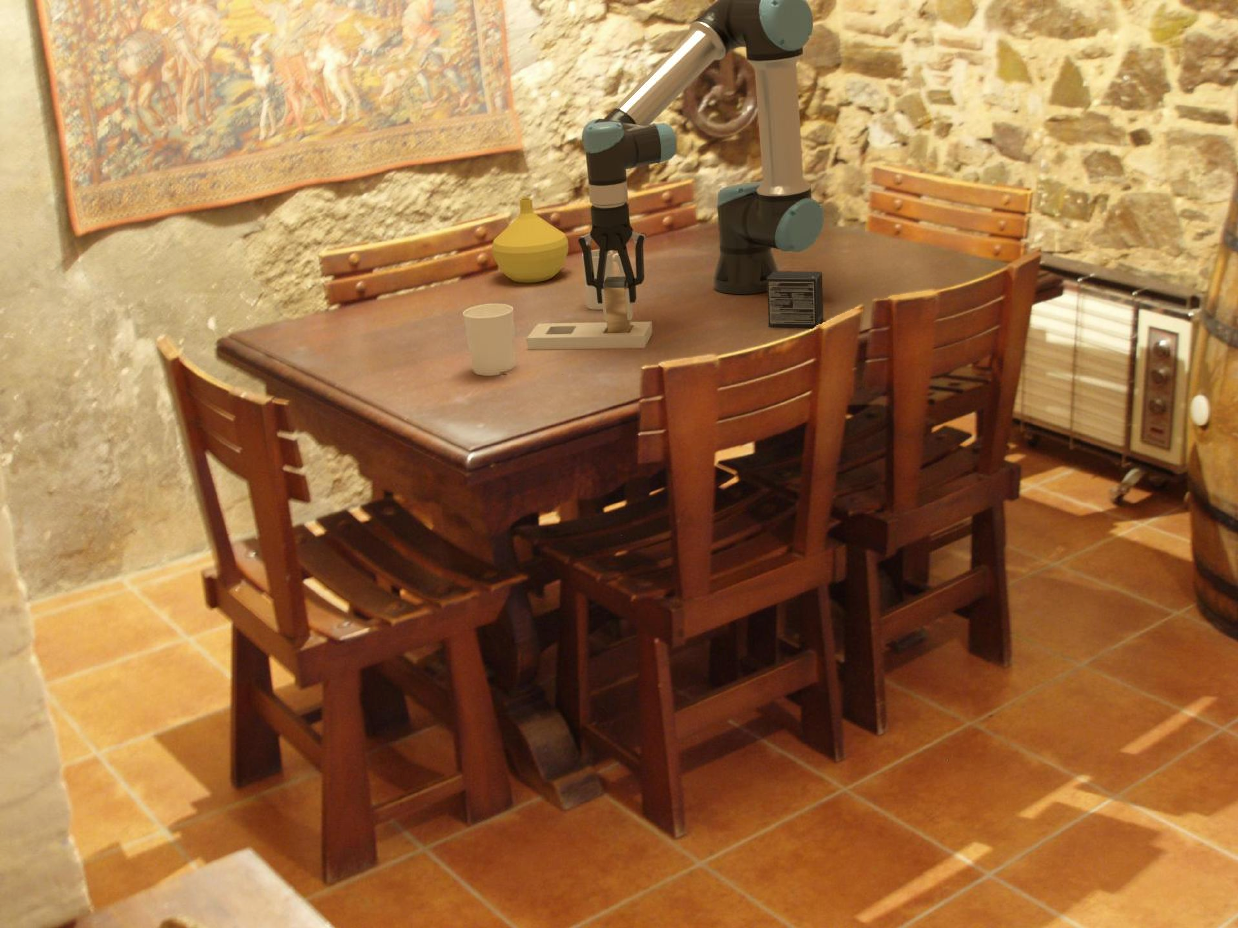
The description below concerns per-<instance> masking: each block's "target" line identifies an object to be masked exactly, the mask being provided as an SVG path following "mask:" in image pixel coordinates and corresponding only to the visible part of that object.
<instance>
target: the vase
mask: <svg viewBox="0 0 1238 928" xmlns="http://www.w3.org/2000/svg"><path fill="white" fill-rule="evenodd" d="M533 206H534V205H533V199H532V197H523V198H520V199H519V208H520V209H519V214H518V216H517V217H516V218H515V219H514V220H513V221H512V222H511V223H510V224H509V225H508V226H507V227H506V228H505V229H504V230H502V232H501V233H499V235H497V237H495V238H494V239H493V242H492V244H491V250H492V256H493V259H494V260H495V263H496V264H497V266H498V268H499V269H500V272H502V273H503V274H504V275H505V276H506V277H507V278H508V279H510V280H511V281H514V282H516V283H523V284H533V283H540V282H545V281H548V280H550V279H552V278H554V277H555V276H556V275H557V274H558V273H560V271H561V269H562V268H563V266H564V265H565V262H566V260H567V255H568V253H569V240H568V238H567V235H566V233H564V231H563V232H562V231H561V230H559V228H556V227H555V226H553V225H552V224H551V223H549V222H547V221H546V220H545V219H543V218H542V217H540V216H539V215H537V213H536V212H535V211H534V207H533Z"/></svg>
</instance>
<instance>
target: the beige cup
mask: <svg viewBox="0 0 1238 928" xmlns="http://www.w3.org/2000/svg"><path fill="white" fill-rule="evenodd" d="M462 317H463V322H464V327H465V332H466V338H467V339H466V340H467V344H468V349H469V355H470V360H471V367H472V371H473V373H474V374H476V375H477V376H484V377H494V376H502V375H503V373H504V372H507V371H510V370H512V369H514V368H515V367H516V350H515V349H516V347H515V327H514V326H515V325H514V323H515V322H514V307H513V306H512V305H509V304H507V303H506V304H505V303H484V304H480V305H479V304H478V305H475V306H471V307H469V308H466V309H465V310H463V312H462Z"/></svg>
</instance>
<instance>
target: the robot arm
mask: <svg viewBox="0 0 1238 928" xmlns="http://www.w3.org/2000/svg"><path fill="white" fill-rule="evenodd" d="M688 30H689V33H688V34H687V35H686V36H685V37H684V38H683V39H682V40H681V41H680V42H679V43H678V44H677V45H676V46H675V47H674V48H673V49H672V50H671V51H670V52H669V53H668V54H667V55H666V56H665V57H664V58H663V59H662V60H661V61H660V62H659V63H658V64H656V66H655V67H654V68H653V69H652V70H651V71H650V72H649V73H648V74H647V75H646V76H645V77H644V78H643V79H642V80H640V82H639V83H638V84H637V85H636V86H635V87H634V88H633V89H632V90H631V91H630V92H629V93H628V94H627V95H626V96H625V97H624V98H623V99H622V100H621V101H620V102H619V103H618V104H617V105H616V107H614V108H613V109H612V110H611V111H610V112H609V113H608V114H607V115H606V116H605V117H604V118H597V119H592V120H590V121H588V122H587V123H586V124H585V125H584V126H583V130H582V132H581V142H582V146H583V148H584V152H585V158H586V159H585V161H586V169H587V172H586V173H587V179H588V180H587V181H588V183H587V184H588V196H589V203H590V204H591V206H590V218H591V230H590V232H589V233H588V234H583V235H581V236H580V237H579V238H578V241H577V242H578V244H579V246H580V248H581V249H582V254H583V259H584V267H585V275H586V283H587V285H588V286H594V287H595V288H596V290H597V301H598V303H599V304H602V303H603V310H602V313H603V321H607V316H606V304H605V292H604V286H603V284H604V283H603V282H604V277H605V269H606V260H607V253H608V251H614V252H615V251H616V252H617V253H618V255H619V257H620V260H621V263H622V267H623V270H624V276H625V277H626V281H627V284H628V285H627V286H626V287H625V300H626V313H627V320H630V321H631V320H632V318H633V317H634V316H633V315H634V312H633V303H634V304H635V302H636V301H637V288H636V287H637V286H639V285H641V284H643V282H644V280H645V262H644V261H645V259H644V258H645V257H644V243H645V240H646V237H647V234H646V233H644V232H641V233H640V232H639V233H638V232H637V231H634V229H633V227H632V226H631V220H630V209H629V208H630V206H629V204H628V202H627V201H628V200H629V193H628V192H629V191H628V180H627V179H628V178H627V170H631V169H634V168H640V167H643V166H644V167H645V166H649V165H656V164H660V163H664V162H666V161H669V160H671V159H673V158H674V156H675V155H676V152H677V148H678V144H677V143H678V142H677V135H676V132H675V131H674V129H673V128H672V126H671V125H670V124H668V123H665V122H660V123H655V122H654V121H655V120H657V118H658V117H659V116H660V115H661V114H662V113H663V112H664V111H665V110H666V109H667V108H669V106H670V105H671V104H672V103H673V102H675V100H676V99H677V98H678V97H679V96H680V95H681V94H682V93H683V92H684V91H685V90H686V89H687V88H688V87H689V86H690V85H691V84H692V83H693V82H694V81H695V80H696V79H697V78H698V77H699V76H700V74H702V73H703V72H704V71H705V70H706V68H708V67H709V66H710V65H711V64H712V63H713V62H714V61H720V60H722V59H724V58H725V56H727V54H729V52H731V51H734V50H736V49H738V48H745V54H746V56H745V57H746V61H747V62H748V64H750V65H751V66H752V67H754V68H753V69H754V76H755V77H754V78H755V90H756V91H755V92H756V102H757V103H756V105H757V116H758V117H757V119H758V128H759V129H758V132H759V143H760V144H759V145H760V159H761V160H760V161H761V170H762V171H761V172H762V181H753V182H751V181H750V182H743V183H738V184H734V185H733V184H732V185H728V186H725V187H722V188H721V189H720V190H719V191H718V194H717V205H716V208H717V223H718V238H719V241H718V242H719V257H718V260H717V264H716V268H715V271H714V274H713V289H715V290H716V291H718V292H720V293H725V294H731V295H749V294H750V295H754V294H760V293H761V294H762V293H765V292H767V277H768V276H769V275H770V274H771V273H772V272H773V271H780V270H779V268H778V265H777V262H776V260H775V257H774V254H773V251H772V250H773V249H776V250H780V251H782V252H793V253H800V252H804V251H806V250H808V249H809V248H810V247H812V246H813V245H814V244H815V243H816V242H817V239H818V238H819V237H820V235H821V233H822V230H823V229H824V223H825V213H824V210H823V207H822V205H821V204H819V202H818V201H817V200H815V199H814V198H812V186H811V183H810V182H808V181H807V180H806V179H805V178H804V170H803V154H802V139H801V138H802V136H801V121H800V118H801V117H800V103H799V102H800V101H799V87H798V75H797V74H798V69H797V68H798V67H797V63H798V62H799V61H800V59H801V58H802V57H803V56H804V46H806V44H807V43H808V41H809V40H810V36H811V35H812V33H813V30H814V18H813V13H812V9H811V6H810V4H809V3H808V2H807V0H716V1H715V2H714V3H712V4H711V5H710V6H708V7H707V8H706V9H705V10H704V11H703V12H702V13H701V14H700V15H699V16H698V17H697V18H695V20H694V21H692V22H691V24H690V25H689V28H688ZM653 122H654V123H653ZM631 238H632V239H633V241H632V242H633V243H634V245H635V248H634V249H635V251H634V252H635V253H634V255H635V274H634V270H633V266H632V263H631V260H630V257H629V253H628V252H629V251H628V248H627V243H628V242H629V241H630V239H631ZM592 240H593V241H594V242H595V244H596V245H597V246H598V247H599V249H598V250H599V262H598V270H597V278H596V279H595V278H594V270H593V262H592V253H591V250H592V248H591V244H592V242H593V241H592ZM635 276H636V277H635Z"/></svg>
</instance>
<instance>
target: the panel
mask: <svg viewBox="0 0 1238 928" xmlns="http://www.w3.org/2000/svg"><path fill="white" fill-rule="evenodd" d="M630 323H631V331H630V333H608V328H607V321H605V322H603V321H602V322H599V321H598V322H562V323H561V322H557V323H555V322H554V323H553V322H552V323H549V322H548V323H537V325H536V326H535V327H534V328H533V329H532V331H531V332H530V334H528V336H527V337H526V344H527V345H526V346H527V350H530V351H531V350H532V351H533V350H579V349H580V350H581V349H582V350H585V349H586V350H588V349H591V350H593V349H595V350H596V349H597V350H599V349H645V348H646V346H647V344H648V342H649V340H650V339H651V337H652V335H653V325H652V323H653V321H630Z"/></svg>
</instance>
